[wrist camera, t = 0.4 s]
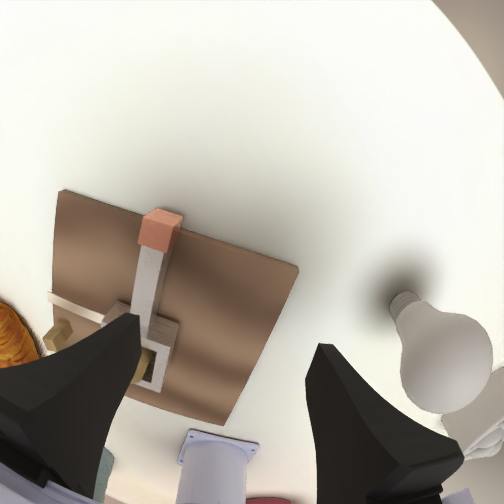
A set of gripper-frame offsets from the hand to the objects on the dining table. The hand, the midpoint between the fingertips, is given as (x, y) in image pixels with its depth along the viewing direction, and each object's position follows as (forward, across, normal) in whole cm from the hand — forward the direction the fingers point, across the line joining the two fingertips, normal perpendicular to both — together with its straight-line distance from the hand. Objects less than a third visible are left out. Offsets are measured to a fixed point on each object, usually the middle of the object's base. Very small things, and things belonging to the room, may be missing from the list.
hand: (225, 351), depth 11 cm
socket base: (+9, +6, +7) cm, 13 cm away
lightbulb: (+10, -13, +1) cm, 16 cm away
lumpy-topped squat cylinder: (+10, -35, +15) cm, 39 cm away
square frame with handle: (+8, +6, +3) cm, 11 cm away
